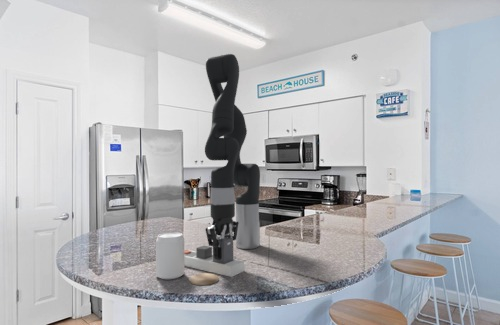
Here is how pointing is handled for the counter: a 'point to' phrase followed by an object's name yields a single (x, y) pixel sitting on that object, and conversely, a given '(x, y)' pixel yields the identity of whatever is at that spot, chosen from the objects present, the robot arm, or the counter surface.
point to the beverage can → (170, 255)
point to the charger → (225, 251)
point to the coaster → (204, 279)
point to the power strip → (211, 262)
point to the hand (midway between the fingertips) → (223, 256)
